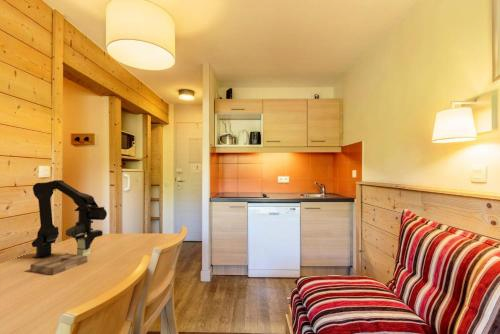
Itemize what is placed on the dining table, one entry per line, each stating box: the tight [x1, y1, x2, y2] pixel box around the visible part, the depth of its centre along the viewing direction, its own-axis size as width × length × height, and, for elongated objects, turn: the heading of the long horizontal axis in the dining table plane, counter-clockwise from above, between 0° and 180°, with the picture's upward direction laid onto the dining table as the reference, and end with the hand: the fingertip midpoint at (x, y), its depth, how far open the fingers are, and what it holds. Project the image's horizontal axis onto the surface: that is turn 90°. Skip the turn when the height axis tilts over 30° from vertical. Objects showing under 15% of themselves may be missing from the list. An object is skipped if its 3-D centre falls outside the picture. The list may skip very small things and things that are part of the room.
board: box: [30, 253, 88, 276], centre depth 113 cm, size 14×16×3 cm
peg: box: [76, 238, 91, 256], centre depth 126 cm, size 4×4×8 cm
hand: (83, 249), depth 126 cm, fingers closed on peg, 4 cm apart
